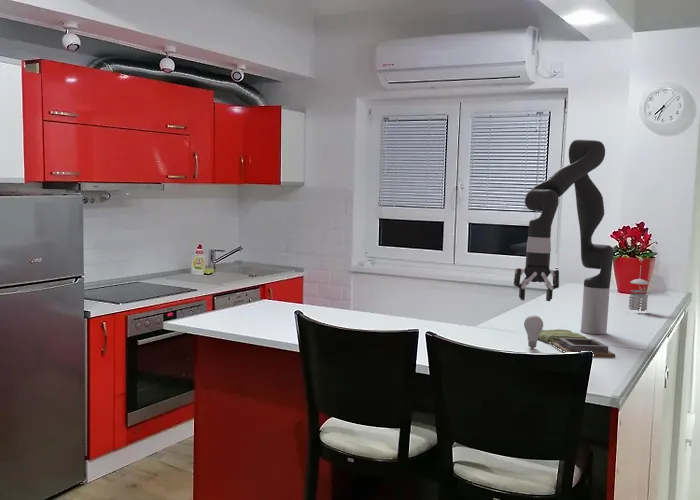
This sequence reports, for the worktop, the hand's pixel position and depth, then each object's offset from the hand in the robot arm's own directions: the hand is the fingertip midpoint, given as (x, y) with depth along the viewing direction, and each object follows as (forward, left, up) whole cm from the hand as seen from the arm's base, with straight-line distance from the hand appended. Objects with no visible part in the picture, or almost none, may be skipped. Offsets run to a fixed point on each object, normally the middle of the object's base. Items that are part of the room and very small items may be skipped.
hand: (535, 300), depth 226 cm
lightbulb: (0, 0, -16) cm, 16 cm away
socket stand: (+2, +16, -16) cm, 23 cm away
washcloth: (-17, +15, -17) cm, 28 cm away
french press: (-85, +77, -16) cm, 116 cm away
